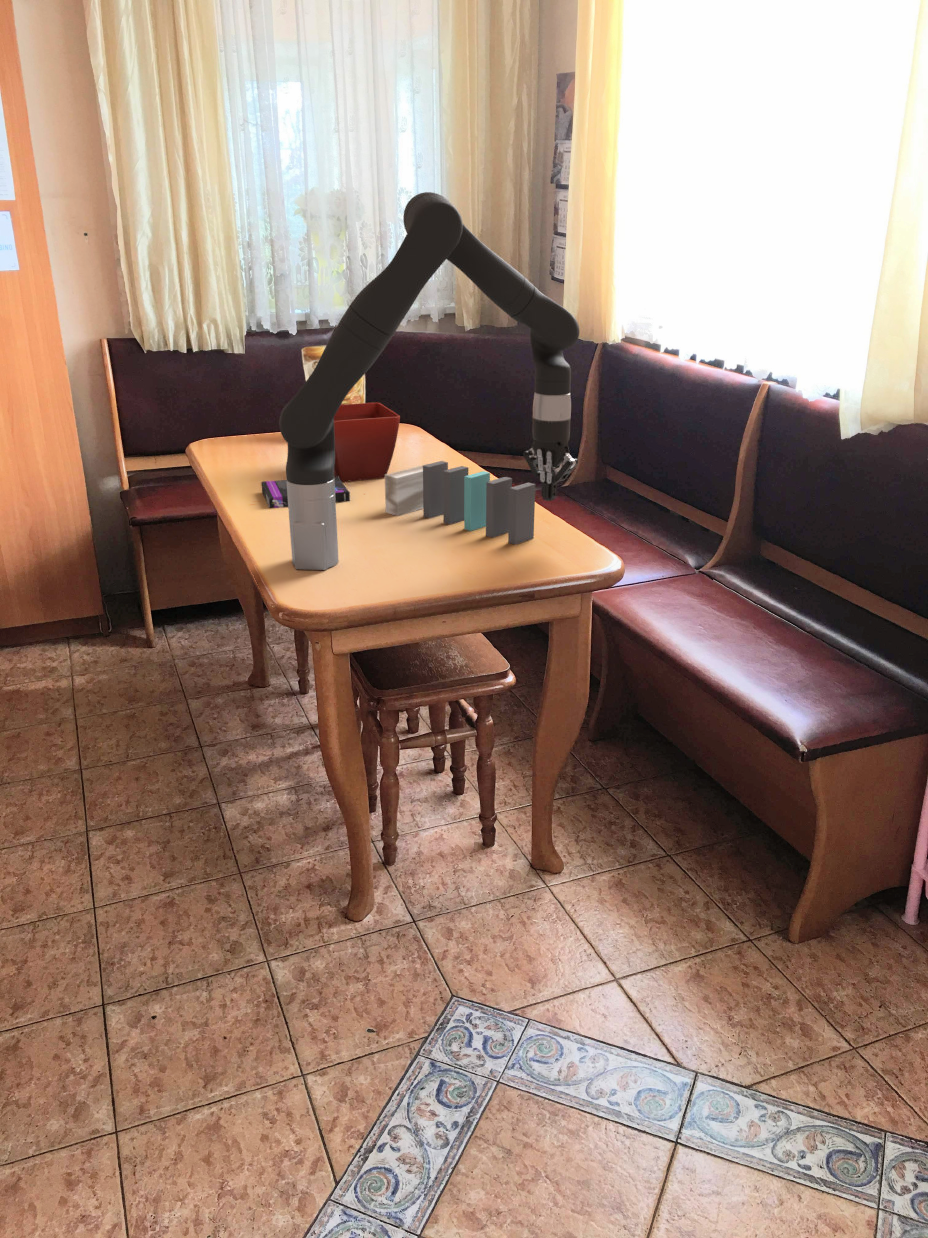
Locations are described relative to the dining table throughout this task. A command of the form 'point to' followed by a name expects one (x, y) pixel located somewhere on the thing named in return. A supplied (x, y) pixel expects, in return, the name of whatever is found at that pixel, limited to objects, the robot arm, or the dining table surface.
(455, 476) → the domino
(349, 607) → the dining table surface
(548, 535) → the dining table surface
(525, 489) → the domino
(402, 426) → the dining table surface
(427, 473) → the domino
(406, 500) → the block
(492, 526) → the domino
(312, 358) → the pancake mix bag
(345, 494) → the box
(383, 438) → the plant pot
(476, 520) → the domino
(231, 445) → the dining table surface
